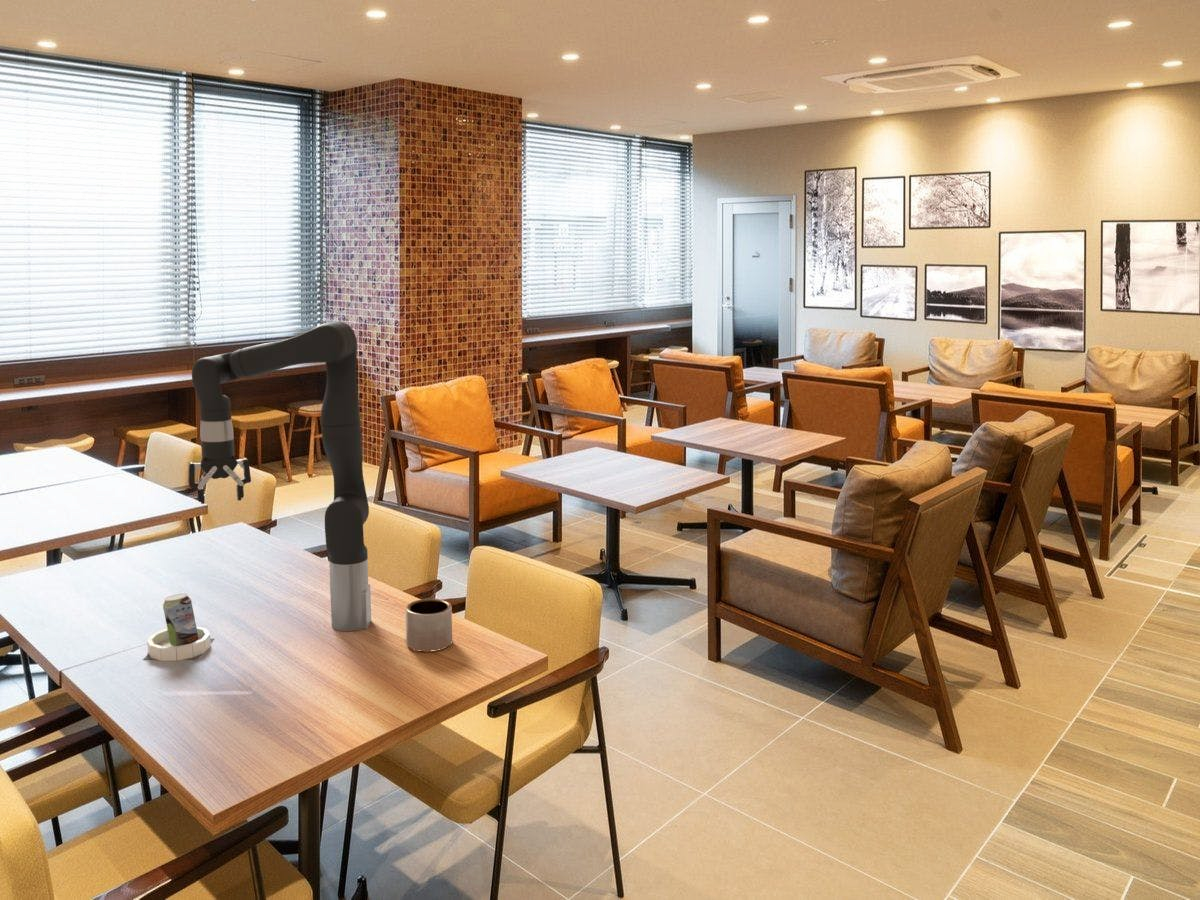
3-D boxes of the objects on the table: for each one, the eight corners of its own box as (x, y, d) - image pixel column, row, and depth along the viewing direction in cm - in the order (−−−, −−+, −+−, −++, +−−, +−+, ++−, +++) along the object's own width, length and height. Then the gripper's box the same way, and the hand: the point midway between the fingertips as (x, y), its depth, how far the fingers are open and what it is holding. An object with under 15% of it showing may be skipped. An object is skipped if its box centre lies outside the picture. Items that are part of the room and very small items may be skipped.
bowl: (217, 637, 229) (217, 625, 228) (198, 660, 216) (197, 648, 215) (162, 637, 228) (161, 625, 227) (139, 660, 215) (138, 648, 215)
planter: (413, 656, 222) (413, 617, 220) (400, 639, 232) (400, 602, 230) (458, 648, 227) (458, 610, 225) (444, 632, 237) (443, 595, 235)
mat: (215, 640, 228) (214, 638, 228) (197, 662, 217) (196, 659, 216) (163, 640, 228) (163, 638, 228) (142, 662, 216) (142, 659, 216)
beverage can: (188, 651, 219) (185, 602, 216) (159, 648, 220) (155, 599, 217) (204, 641, 225) (201, 592, 222) (176, 638, 226) (173, 590, 224)
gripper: (187, 442, 228) (191, 508, 231) (250, 438, 234) (253, 502, 238) (184, 436, 234) (188, 501, 238) (245, 432, 241) (249, 495, 244)
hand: (221, 501), depth 238 cm, fingers open, 8 cm apart
